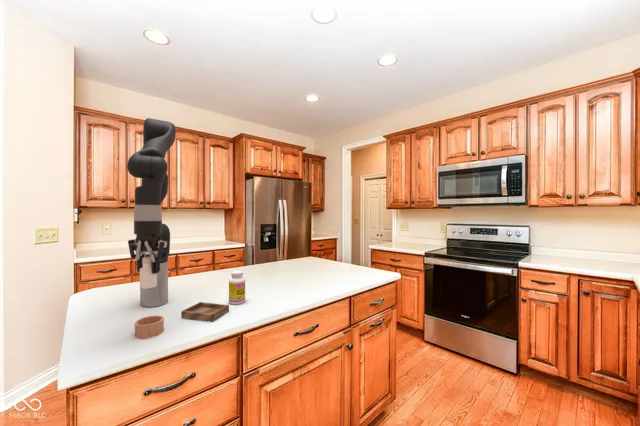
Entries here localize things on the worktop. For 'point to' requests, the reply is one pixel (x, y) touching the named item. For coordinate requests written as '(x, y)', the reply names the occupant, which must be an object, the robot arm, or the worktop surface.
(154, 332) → the collar
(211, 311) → the tray
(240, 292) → the supplement bottle
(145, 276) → the salt shaker
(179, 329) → the worktop surface
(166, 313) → the worktop surface
